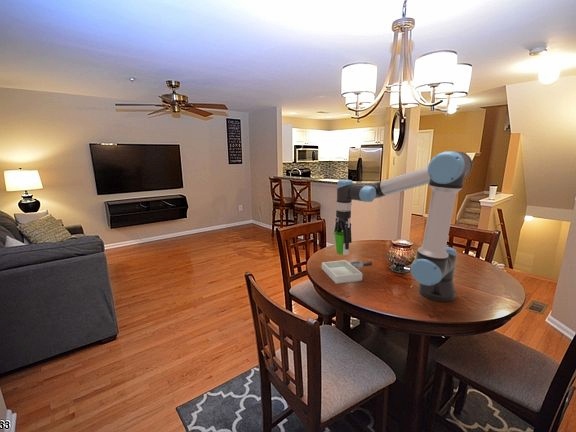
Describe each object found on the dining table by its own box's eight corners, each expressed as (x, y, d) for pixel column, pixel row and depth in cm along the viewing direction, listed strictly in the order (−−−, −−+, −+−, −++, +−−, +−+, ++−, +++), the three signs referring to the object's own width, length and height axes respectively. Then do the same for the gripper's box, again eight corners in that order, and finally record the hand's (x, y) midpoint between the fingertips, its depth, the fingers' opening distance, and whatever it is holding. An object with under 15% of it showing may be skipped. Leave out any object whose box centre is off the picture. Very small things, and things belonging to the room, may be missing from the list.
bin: (362, 280, 146) (362, 273, 145) (335, 284, 142) (336, 276, 142) (345, 266, 165) (345, 260, 164) (321, 269, 161) (321, 262, 160)
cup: (345, 257, 145) (346, 236, 142) (330, 253, 150) (330, 233, 148) (353, 252, 152) (354, 232, 149) (337, 249, 157) (338, 230, 155)
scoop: (369, 263, 170) (369, 259, 170) (373, 266, 166) (373, 262, 165) (350, 265, 167) (350, 261, 167) (354, 268, 162) (354, 264, 162)
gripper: (360, 214, 137) (358, 258, 141) (341, 206, 157) (339, 244, 162) (346, 214, 135) (344, 259, 140) (328, 206, 155) (327, 245, 160)
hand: (341, 251), depth 151 cm, fingers closed on cup, 9 cm apart
